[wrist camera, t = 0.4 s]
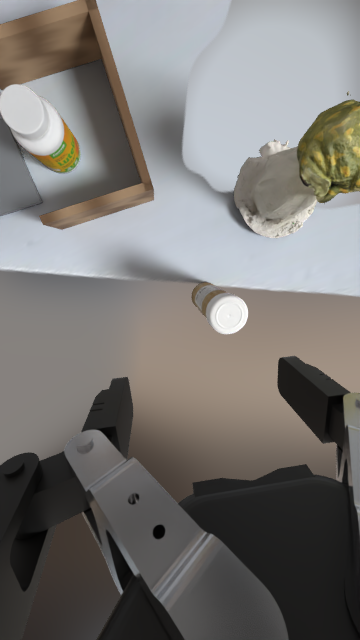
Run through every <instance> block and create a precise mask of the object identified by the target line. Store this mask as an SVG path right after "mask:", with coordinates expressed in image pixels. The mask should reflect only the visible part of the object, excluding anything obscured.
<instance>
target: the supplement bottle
mask: <svg viewBox="0 0 360 640" xmlns="http://www.w3.org/2000/svg"><path fill="white" fill-rule="evenodd" d="M0 112H1V115H2V117H3V119H4V121H5V122H6V123H7V125H8V126H9V127H10V129H11V132H12V134H13V136H14V137H15V139H16V140H17V142H18V143H19V144H20V145H21V146H22V147H23V148H24V149H26V150H27V151H28V152H29V153H31V154H32V155H33V156H34V157H35V158H37V159H38V160H39V161H40V162H42V163H43V164H44V165H45V166H47V167H48V168H49V169H51V170H52V171H54V172H57V173H62V174H65V173H69V172H71V171H73V170H74V169H75V168H76V167H77V166H78V164H79V162H80V157H81V152H80V147H79V144H78V142H77V140H76V138H75V137H74V135H73V134H72V132H71V131H70V129H69V128H68V126H67V125H66V123H65V122H64V121H63V119H62V118H61V116H60V115H59V113H58V112H57V110H56V109H55V108H54V106H53V105H52V104H51V103H50V102H48V101H47V100H46V99H44V98H43V97H41V96H38V95H36V94H35V92H33V91H32V90H31V89H30V88H28V87H26V86H24V85H20V84H13V85H10V86H8V87H6V88H5V89H4V90H3V92H2V93H1V96H0Z"/></svg>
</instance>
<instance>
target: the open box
mask: <svg viewBox="0 0 360 640" xmlns="http://www.w3.org/2000/svg"><path fill="white" fill-rule="evenodd" d="M99 59H102V62H103V65H104V68H105V71H106V74H107V77H108V80H109V83H110V87H111V90H112V93H113V96H114V99H115V102H116V105H117V109H118V112H119V115H120V118H121V121H122V124H123V127H124V131H125V134H126V137H127V140H128V143H129V146H130V149H131V152H132V156H133V159H134V162H135V165H136V168H137V171H138V174H139V178H140V181H141V184H137V185H134V186H131V187H128V188H125V189H122V190H119V191H116V192H113V193H109V194H106V195H103V196H100V197H97V198H94V199H91V200H88V201H84V202H81V203H78V204H75V205H72V206H69V207H66V208H63V209H60V210H56V211H53V212H50V213H47V214H44V215H41V216H39V217H40V219H41V221H42V223H43V225H46V226H50V227H54V228H58V229H65V228H68V227H72V226H75V225H78V224H81V223H84V222H87V221H90V220H93V219H96V218H99V217H103V216H106V215H109V214H112V213H115V212H118V211H121V210H124V209H127V208H131V207H134V206H137V205H140V204H143V203H146V202H149V201H152V200H154V189H153V186H152V182H151V179H150V176H149V173H148V169H147V166H146V163H145V160H144V156H143V153H142V150H141V147H140V143H139V140H138V137H137V133H136V130H135V127H134V124H133V120H132V117H131V114H130V111H129V107H128V104H127V101H126V98H125V94H124V91H123V88H122V85H121V81H120V78H119V75H118V72H117V68H116V65H115V62H114V59H113V55H112V52H111V49H110V46H109V42H108V39H107V36H106V32H105V29H104V26H103V23H102V19H101V16H100V13H99V10H98V6H97V3H96V0H77V1H74V2H71V3H68V4H65V5H61V6H58V7H55V8H52V9H48V10H45V11H42V12H39V13H35V14H32V15H29V16H26V17H23V18H19V19H16V20H13V21H10V22H6V23H3V24H0V89H1V90H3V89H5V88H6V87H8V86H10V85H13V84H22V83H26V82H29V81H32V80H35V79H38V78H41V77H45V76H48V75H51V74H54V73H57V72H61V71H64V70H67V69H70V68H73V67H77V66H80V65H83V64H86V63H89V62H93V61H96V60H99Z"/></svg>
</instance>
